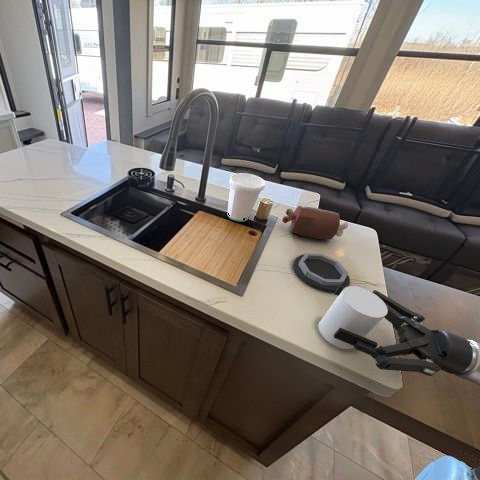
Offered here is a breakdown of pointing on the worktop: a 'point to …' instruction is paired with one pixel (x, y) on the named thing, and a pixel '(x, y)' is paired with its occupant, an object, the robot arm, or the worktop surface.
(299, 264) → the coaster
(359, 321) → the white cylinder
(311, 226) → the meat
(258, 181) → the cup
